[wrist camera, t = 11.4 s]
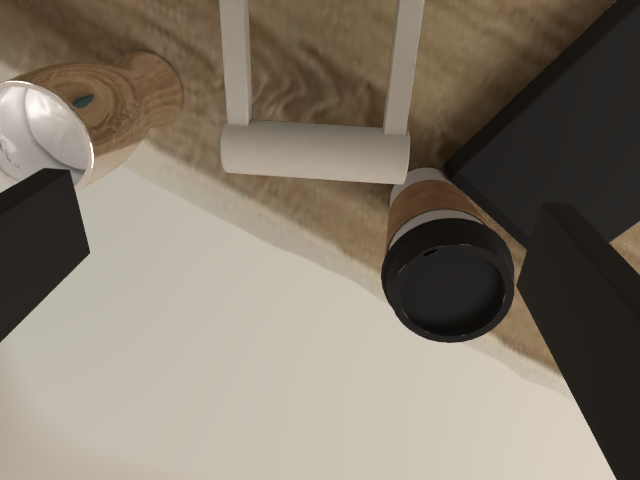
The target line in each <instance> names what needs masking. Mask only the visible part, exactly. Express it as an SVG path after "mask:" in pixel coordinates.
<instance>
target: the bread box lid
mask: <svg viewBox="0 0 640 480" xmlns="http://www.w3.org/2000/svg"><path fill="white" fill-rule="evenodd" d="M424 2H425V0H397V6H396V15H395V24H394V32H393V41H392V50H391V59H390V68H389V77H388V86H387V94H386V103H385V112H384V121H383V128H378V127H362V126H346V125H330V124H314V123H299V122H283V121H267V120H253V113H252V88H251V62H250V37H249V11H248V0H219V10H220V24H221V39H222V53H223V68H224V82H225V97H226V111H227V119H226V120H225V122H224V124H223V127H222V131H221V138H220V156H221V162H222V166H223V169H224V170H225V171H226V172H227V173H240V174H254V175H269V176H283V177H298V178H312V179H326V180H341V181H355V182H370V183H384V184H398V185H402V184H404V182H405V179H406V176H407V171H408V164H409V155H410V133H409V130H407V122H408V115H409V108H410V101H411V94H412V87H413V80H414V73H415V65H416V58H417V51H418V44H419V37H420V30H421V23H422V16H423V9H424Z"/></svg>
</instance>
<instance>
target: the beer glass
mask: <svg viewBox="0 0 640 480" xmlns="http://www.w3.org/2000/svg"><path fill="white" fill-rule="evenodd" d="M182 101H183V91H182V86H181V82H180V80H179V78H178V76H177V74H176V72H175V71H174V69H173V68H172V67H171V66H170V65H169V64H168V63H167V62H166V61H165V60H164V59H162V58H161V57H159V56H157V55H155V54H153V53H150V52H146V51H132V52H129V53H126V54H124V55H122V56H121V57H119V58H118V59H117V60H116V61H115V62H113V63H101V62H65V63H59V64H54V65H49V66H45V67H42V68H38V69H35V70H32V71H29V72H27V73H24V74H22V75H19V76H17V77H14V78H12V79H10V80H7V81H3V82H0V175H1V176H2V177H3V178H4V179H6V180H7V181H8V182H10V183H11V184H12V185H15V184H17V183H19V182H20V181H22V180H24V179H25V178H27V177H29V176H31V175H32V174H34V173H36V172H37V171H39V170H41V169H43V168H53V169H68V170H70V172H71V176H72V180H73V184H74V188H75V192H77V191H79V190H80V189H81V188H83V187H85V186H87V185H89V184H91V183H93V182H95V181H96V180H98V179H100V178H102V177H104V176H105V175H107V174H108V173H110V172H111V171H113V170H114V169H116V168H117V167H118V166H120V165H121V164H122V163H123V162H124V161H126V160H127V159H128V158H129V157H130V156H131V155H132V153H133V152H134V151H135V150H136V149H137V148H138V146H139V145H140V143H141V142H142V141H143V139H144V138H145V136H146V135H147V133H148V132H149V130H150V129H151V128H155V127H160V126H163V125H166V124H168V123H169V122H171V121H172V120H173V119H174V118H175V117H176V116H177V115H178V113H179V111H180V109H181V106H182Z"/></svg>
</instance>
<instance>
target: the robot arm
mask: <svg viewBox="0 0 640 480" xmlns="http://www.w3.org/2000/svg"><path fill="white" fill-rule="evenodd" d="M89 254H90V250H89V246H88V242H87V237H86V233H85V230H84V225H83V221H82V217H81V213H80V209H79V205H78V201H77V197H76V192H75V188H74V184H73V180H72V176H71V172H70V170H68V169H53V168H43V169H41V170H39V171H37V172H36V173H34V174H32V175H31V176H29V177H27V178H25V179H24V180H22V181H20V182H19V183H17V184H15V185H13V186H12V187H10V188H8V189H6V190H5V191H3V192H1V193H0V342H1V341H2V340H3V339H4V338H5V337H6V336H7V335H8V334H9V333H10V332H11V331H12V330H13V329H14V328H15V327H16V326H17V325H18V324H19V323H20V322H21V321H22V320H23V319H24V318H25V317H26V316H27V315H28V314H29V313H30V312H31V311H32V310H33V309H34V308H35V307H36V306H37V305H38V304H39V303H40V302H41V301H42V300H43V299H44V298H45V297H46V296H47V295H48V294H49V293H50V292H51V291H52V290H53V289H54V288H55V287H56V286H57V285H58V284H59V283H60V282H61V281H62V280H63V279H64V278H66V277H67V276H68V274H69V273H71V272H72V271H73V270H74V269H75V267H77V265H78V264H80V262H82V261H83V259H85V258H86V257H87V256H88V255H89ZM516 286H517V288H518V290H519V292H520V294H521V296H522V298H523V300H524V302H525V304H526V306H527V307H528V309H529V311H530V313H531V315H532V317H533V319H534V321H535V323H536V325H537V327H538V329H539V331H540V333H541V335H542V336H543V338H544V340H545V342H546V344H547V346H548V348H549V350H550V352H551V354H552V356H553V358H554V360H555V362H556V364H557V365H558V367H559V369H560V371H561V373H562V375H563V377H564V379H565V381H566V383H567V385H568V387H569V389H570V391H571V393H572V394H573V396H574V398H575V400H576V402H577V404H578V406H579V408H580V410H581V412H582V414H583V416H584V418H585V419H586V421H587V423H588V425H589V427H590V429H591V431H592V433H593V435H594V437H595V439H596V441H597V443H598V445H599V447H600V448H601V450H602V452H603V454H604V456H605V458H606V460H607V462H608V464H609V466H610V468H611V470H612V472H613V474H614V476H615V477H616V479H617V480H640V275H639V274H638V273H637V272H636V271H635V270H634V269H633V268H632V267H631V266H630V265H629V264H628V263H627V261H626V260H625V259H624V258H623V257H622V256H621V255H620V254H619V253H618V252H617V251H616V250H615V249H614V248H613V247H612V246H611V245H610V244H609V243H608V242H607V241H606V240H605V239H604V238H603V236H602V235H601V234H600V233H599V232H598V231H597V230H596V229H595V228H594V227H593V226H592V225H591V224H590V223H589V222H588V221H587V220H586V219H585V218H584V217H583V216H582V215H581V214H580V213H579V211H578V210H577V209H576V208H575V207H574V206H573V205H572V204H564V203H549V202H542V205H541V208H540V211H539V214H538V217H537V221H536V224H535V227H534V230H533V234H532V237H531V240H530V243H529V246H528V250H527V253H526V256H525V259H524V262H523V266H522V269H521V272H520V275H519V279H518V282H517V285H516Z"/></svg>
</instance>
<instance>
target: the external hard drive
mask: <svg viewBox="0 0 640 480" xmlns="http://www.w3.org/2000/svg"><path fill="white" fill-rule="evenodd" d="M443 168H444V170H445V172H446V175H447V177H448V178H449V179H450V180H451V181H452V182H453V183H454V184H455V185H456V186H458V187H459V188H460V189H461V190H462V191H463V192H464V193H465V194H466V195H467V196H469V197H470V198H471V199H472V200H473V201H474V202H475V203H476V204H477V205H478V206H480V207H481V208H482V209H483V210H484V211H485V212H486V213H487V214H488V215H489V216H491V217H492V218H493V219H494V220H495V221H496V222H497V223H498V224H499V225H500V226H501V227H503V228H504V229H505V230H506V231H507V232H508V233H509V234H510V235H511V236H512V237H514V238H515V239H516V240H517V241H518V242H519V243H520V244H521V245H522V246H523V247H525V248H526V249H527V250H528V246H529V243H530V240H531V237H532V234H533V230H534V227H535V224H536V221H537V217H538V214H539V211H540V208H541V205H542V202H549V203H564V204H572V205H573V206H574V207H575V208H576V209H577V210H578V211H579V213H580V214H581V215H582V216H583V217H584V218H585V219H586V220H587V221H588V222H589V223H590V224H591V225H592V226H593V227H594V228H595V229H596V230H597V231H598V232H599V233H600V234H601V235H602V236H603V238H604V239H605V240H606V241H607V242H608V243H609V242H611V241H612V240H614V239H615V238H616V237H618V236H619V235H621V234H622V233H623V232H625V231H626V230H628V229H629V228H630V227H632V226H633V225H635V224H636V223H638V222H639V221H640V0H618V1H617V2H616V3H615V4H613V5H612V6H611V7H610V8H609V9H608V10H607V11H606V12H605V13H604V14H603V15H602V16H601V17H600V18H599V19H598V20H597V21H595V22H594V23H593V24H592V25H591V26H590V27H589V28H588V29H587V30H586V31H585V32H584V33H583V34H582V35H581V36H580V37H579V38H578V39H576V40H575V41H574V42H573V43H572V44H571V45H570V46H569V47H568V48H567V49H566V50H565V51H564V52H563V53H562V54H561V55H560V56H558V57H557V58H556V59H555V60H554V61H553V62H552V63H551V64H550V65H549V66H548V67H547V68H546V69H545V70H544V71H543V72H542V73H540V74H539V75H538V76H537V77H536V78H535V79H534V80H533V81H532V82H531V83H530V84H529V85H528V86H527V87H526V88H525V89H524V90H522V91H521V92H520V93H519V94H518V95H517V96H516V97H515V98H514V99H513V100H512V101H511V102H510V103H509V104H508V105H507V106H506V107H504V108H503V109H502V110H501V111H500V112H499V113H498V114H497V115H496V116H495V117H494V118H493V119H492V120H491V121H490V122H489V123H488V124H487V125H485V126H484V127H483V128H482V129H481V130H480V131H479V132H478V133H477V134H476V135H475V136H474V137H473V138H472V139H471V140H470V141H469V142H467V143H466V144H465V145H464V146H463V147H462V148H461V149H460V150H459V151H458V152H457V153H456V154H455V155H454V156H453V157H452V158H451V159H449V160H448V161H447V162H446V163H445V164H444V165H443Z"/></svg>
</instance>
